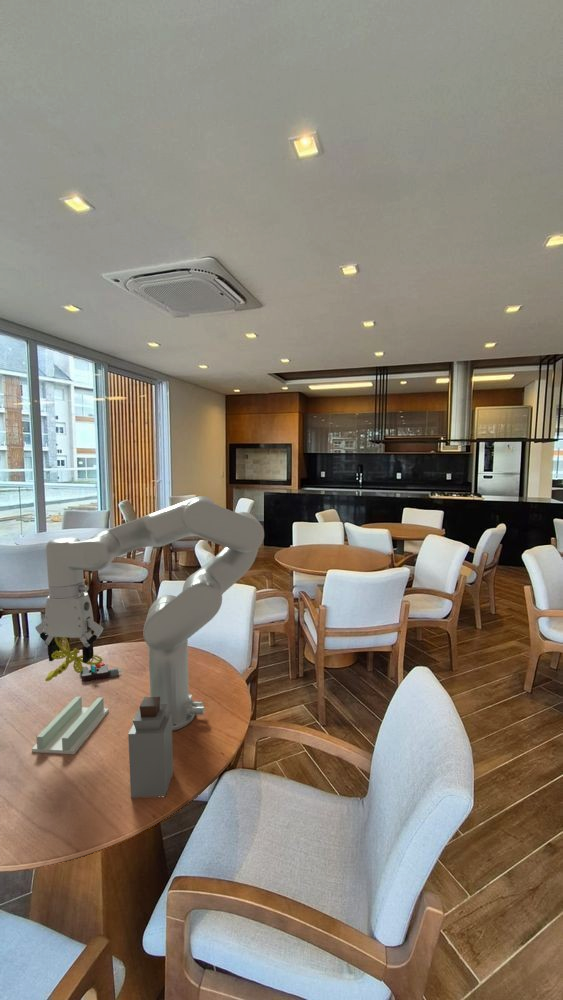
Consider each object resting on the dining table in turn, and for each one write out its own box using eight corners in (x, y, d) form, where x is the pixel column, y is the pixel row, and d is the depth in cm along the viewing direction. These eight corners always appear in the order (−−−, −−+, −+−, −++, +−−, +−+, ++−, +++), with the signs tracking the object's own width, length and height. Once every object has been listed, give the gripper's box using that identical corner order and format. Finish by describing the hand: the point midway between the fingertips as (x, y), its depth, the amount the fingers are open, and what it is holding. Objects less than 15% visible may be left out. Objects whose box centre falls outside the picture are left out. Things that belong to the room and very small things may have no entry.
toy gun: (122, 677, 127) (121, 662, 127) (78, 685, 123) (77, 669, 122) (121, 663, 136) (120, 648, 136) (80, 670, 132) (80, 655, 131)
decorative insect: (77, 690, 103) (104, 657, 104) (74, 697, 100) (102, 663, 101) (30, 663, 100) (58, 629, 101) (26, 669, 97) (55, 635, 98)
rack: (108, 711, 110) (108, 697, 109) (74, 754, 94) (73, 738, 93) (72, 709, 110) (71, 696, 110) (32, 751, 95) (31, 736, 94)
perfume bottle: (173, 771, 89) (170, 691, 87) (165, 797, 82) (162, 711, 80) (141, 772, 89) (138, 692, 87) (130, 798, 82) (127, 712, 80)
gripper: (109, 585, 102) (113, 653, 104) (43, 584, 104) (48, 650, 106) (92, 596, 95) (96, 669, 97) (21, 593, 97) (27, 665, 98)
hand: (71, 659), depth 101 cm, fingers closed on decorative insect, 8 cm apart
